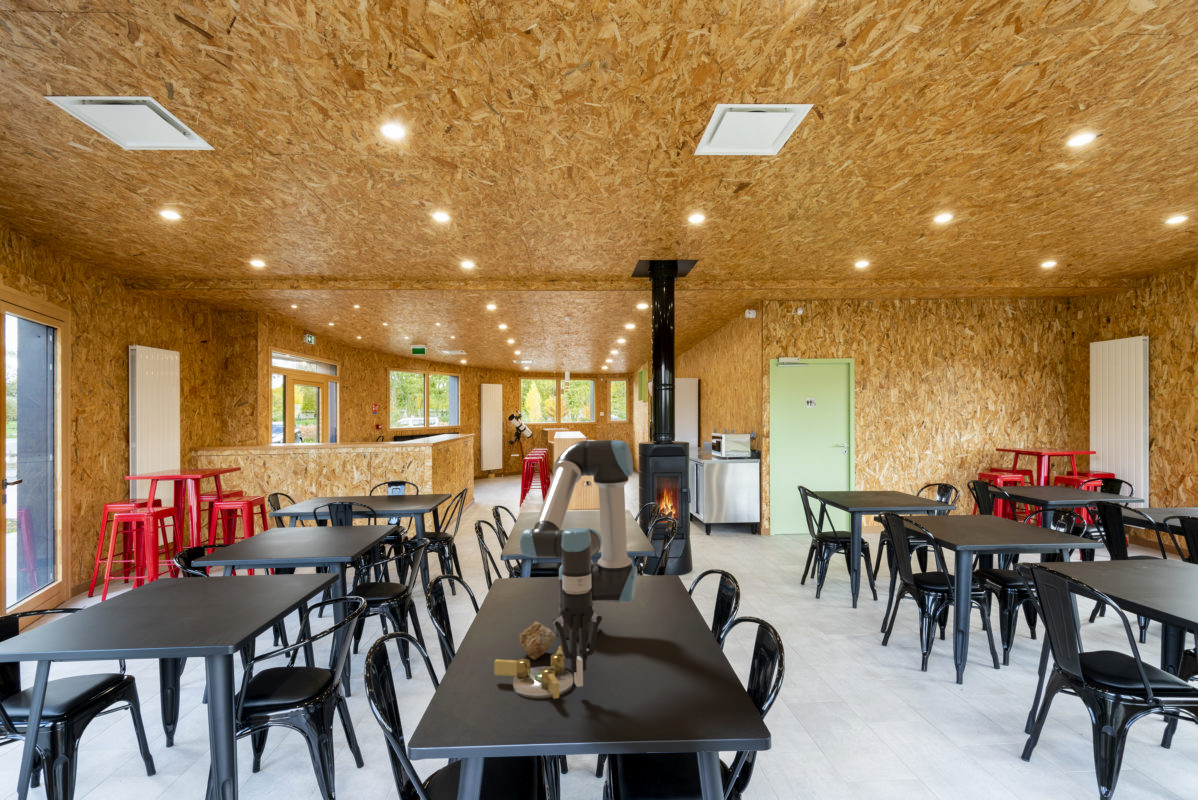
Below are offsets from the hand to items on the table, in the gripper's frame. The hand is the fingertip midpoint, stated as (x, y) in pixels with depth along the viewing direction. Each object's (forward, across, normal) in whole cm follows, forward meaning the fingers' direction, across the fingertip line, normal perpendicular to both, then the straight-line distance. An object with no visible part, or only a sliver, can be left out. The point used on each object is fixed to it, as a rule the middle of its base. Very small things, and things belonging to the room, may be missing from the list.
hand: (578, 684), depth 147 cm
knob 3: (+1, -1, +16) cm, 16 cm away
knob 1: (+1, -14, +15) cm, 21 cm away
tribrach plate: (+3, -7, +10) cm, 13 cm away
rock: (+4, -4, +30) cm, 31 cm away
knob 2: (+1, -7, +2) cm, 7 cm away
